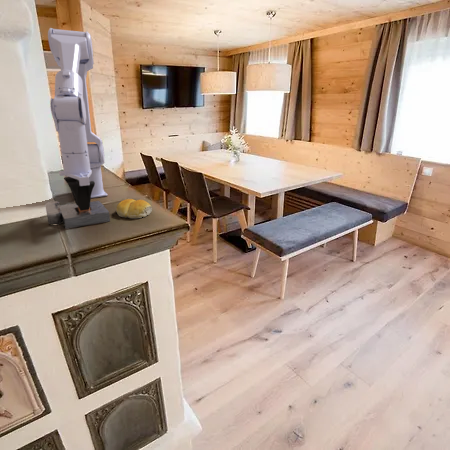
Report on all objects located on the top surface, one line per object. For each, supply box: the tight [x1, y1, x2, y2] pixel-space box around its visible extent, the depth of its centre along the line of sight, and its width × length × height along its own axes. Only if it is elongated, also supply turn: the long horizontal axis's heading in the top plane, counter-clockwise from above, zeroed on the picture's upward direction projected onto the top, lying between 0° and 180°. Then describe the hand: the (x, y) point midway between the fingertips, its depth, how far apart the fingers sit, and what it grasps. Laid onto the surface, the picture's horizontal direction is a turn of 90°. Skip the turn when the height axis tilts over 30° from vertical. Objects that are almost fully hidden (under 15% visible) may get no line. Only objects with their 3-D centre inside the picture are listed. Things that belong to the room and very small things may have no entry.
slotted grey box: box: [44, 200, 111, 230], centre depth 76 cm, size 10×13×5 cm
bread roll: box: [116, 198, 153, 220], centre depth 82 cm, size 8×9×4 cm
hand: (82, 207), depth 77 cm, fingers open, 4 cm apart
